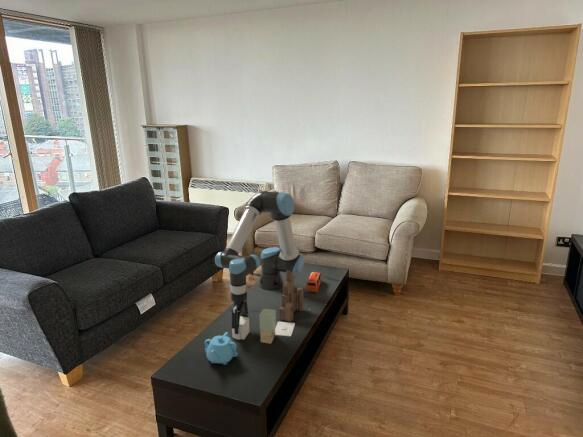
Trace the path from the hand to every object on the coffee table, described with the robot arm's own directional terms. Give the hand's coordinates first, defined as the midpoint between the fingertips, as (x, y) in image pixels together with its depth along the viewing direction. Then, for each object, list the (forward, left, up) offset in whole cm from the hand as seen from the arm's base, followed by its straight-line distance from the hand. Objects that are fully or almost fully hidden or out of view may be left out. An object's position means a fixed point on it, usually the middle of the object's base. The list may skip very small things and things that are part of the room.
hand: (241, 334), depth 197 cm
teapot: (+21, -1, -1) cm, 21 cm away
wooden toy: (-25, +19, -1) cm, 31 cm away
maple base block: (0, +14, 0) cm, 14 cm away
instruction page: (-10, +19, 0) cm, 21 cm away
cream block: (0, 0, 0) cm, 0 cm away
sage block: (0, +14, +6) cm, 15 cm away
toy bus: (-61, +23, -1) cm, 65 cm away
